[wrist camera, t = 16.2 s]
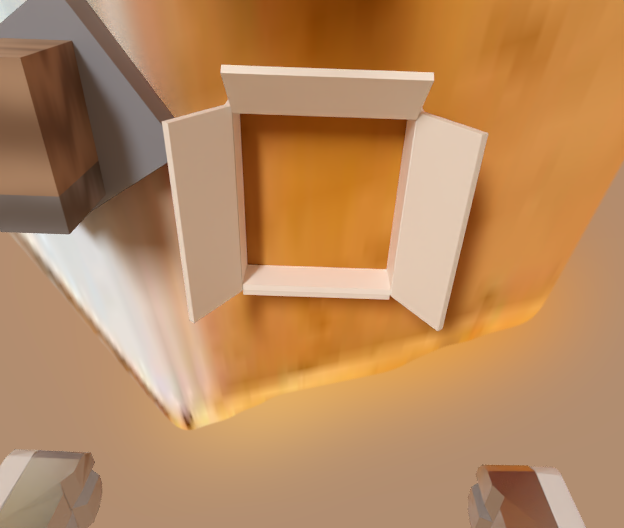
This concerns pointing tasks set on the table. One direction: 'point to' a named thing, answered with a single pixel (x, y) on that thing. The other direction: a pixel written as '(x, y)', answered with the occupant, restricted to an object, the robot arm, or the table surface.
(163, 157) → the slate platform
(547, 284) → the table surface
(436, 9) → the table surface
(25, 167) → the walnut block
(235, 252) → the carton
